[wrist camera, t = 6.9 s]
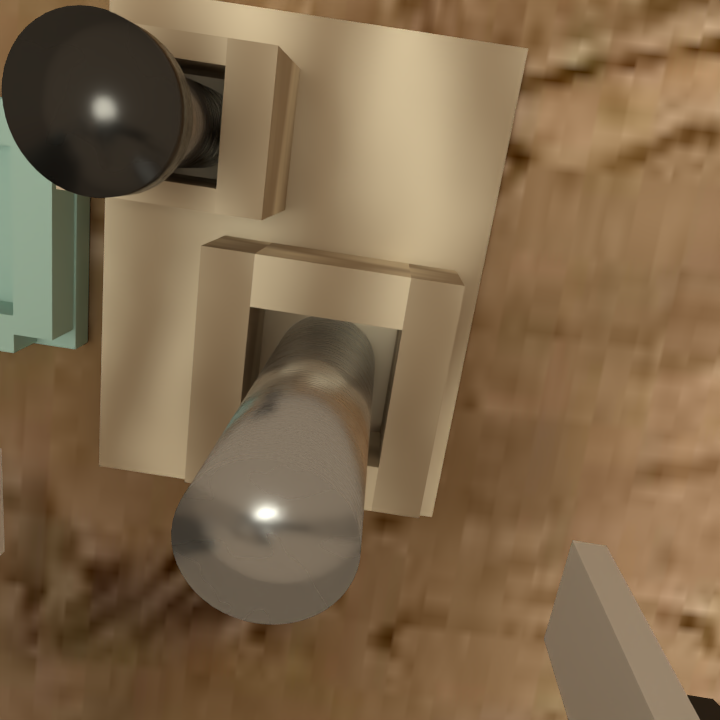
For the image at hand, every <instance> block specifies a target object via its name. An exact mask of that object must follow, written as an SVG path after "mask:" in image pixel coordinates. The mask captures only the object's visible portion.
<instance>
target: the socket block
mask: <svg viewBox="0 0 720 720" xmlns="http://www.w3.org/2000/svg"><path fill="white" fill-rule="evenodd" d="M110 12H113V13H116V14H117V15H119V16H121V17H123V18H125V19H127V20H129V21H130V22H132V23H134V24H136V25H138V26H139V27H141V28H143V29H145V30H146V31H148V32H149V33H151V34H152V35H153V36H155V37H156V38H157V39H158V40H159V41H160V42H161V43H163V44H164V45H165V47H166V48H167V49H168V50H169V51H170V52H171V54H172V55H173V56H174V58H175V59H176V61H177V62H178V64H179V66H180V67H181V69H182V71H183V73H184V75H185V77H186V78H189V79H191V80H193V81H196V82H198V83H200V84H203V85H205V86H207V87H210V88H212V89H214V90H216V91H217V92H219V93H220V94H221V95H222V96H223V106H222V119H221V133H220V146H219V160H218V164H216V165H214V166H211V167H206V168H176V169H175V171H174V172H173V173H172V174H171V175H170V176H169V177H168V178H167V179H166V180H164V181H163V182H162V183H160V184H159V185H157V186H155V187H154V188H152V189H150V190H147V191H145V192H142V193H138V194H133V195H127V196H119V197H109V198H105V228H104V271H103V314H102V357H101V400H100V443H99V466H102V467H109V468H115V469H122V470H128V471H135V472H141V473H148V474H154V475H161V476H167V477H174V478H181V479H185V482H186V483H192V481H193V480H194V478H195V476H196V475H197V473H198V472H199V470H200V468H201V467H202V465H203V464H204V462H205V460H206V459H207V457H208V456H209V454H210V452H211V451H212V449H213V448H214V446H215V444H216V443H217V441H218V440H219V438H220V436H221V435H222V433H223V432H224V430H225V428H226V427H227V425H228V424H229V422H230V420H231V419H232V417H233V416H234V414H235V412H236V411H237V409H238V408H239V406H240V404H241V403H242V401H243V400H244V398H245V396H246V395H247V393H248V392H249V390H250V388H251V387H252V385H253V384H254V382H255V380H256V379H257V377H258V376H259V374H260V372H261V371H262V369H263V368H264V366H265V364H266V363H267V361H268V360H269V358H270V356H271V355H272V353H273V352H274V350H275V348H276V347H277V345H278V344H279V342H280V340H281V339H282V337H283V336H284V334H285V333H286V332H287V331H288V330H289V328H291V327H292V326H293V325H294V324H295V323H297V322H299V321H300V320H302V319H305V318H307V317H310V316H314V317H320V318H327V319H333V320H340V321H346V322H352V323H353V324H354V325H356V326H357V327H358V328H359V329H360V330H361V331H362V332H363V333H364V334H365V335H366V337H367V338H368V340H369V342H370V344H371V346H372V349H373V352H374V357H375V371H374V384H373V397H372V410H371V423H370V436H369V449H368V462H367V476H366V489H365V502H364V510H368V511H375V512H381V513H388V514H394V515H401V516H407V517H414V518H419V516H420V515H421V516H428V517H432V514H433V509H434V504H435V499H436V495H437V490H438V485H439V480H440V475H441V470H442V465H443V461H444V456H445V451H446V446H447V441H448V436H449V431H450V427H451V422H452V417H453V412H454V407H455V402H456V397H457V393H458V388H459V383H460V378H461V373H462V368H463V363H464V358H465V354H466V349H467V344H468V339H469V334H470V329H471V324H472V320H473V315H474V310H475V305H476V300H477V295H478V290H479V286H480V281H481V276H482V271H483V266H484V261H485V256H486V251H487V247H488V242H489V237H490V232H491V227H492V222H493V217H494V213H495V208H496V203H497V198H498V193H499V188H500V183H501V179H502V174H503V169H504V164H505V159H506V154H507V149H508V145H509V140H510V135H511V130H512V125H513V120H514V115H515V110H516V106H517V101H518V96H519V91H520V86H521V81H522V76H523V72H524V67H525V62H526V57H527V52H528V48H522V47H515V46H509V45H502V44H496V43H489V42H483V41H476V40H470V39H463V38H456V37H450V36H443V35H437V34H430V33H424V32H417V31H411V30H404V29H398V28H391V27H385V26H378V25H372V24H365V23H359V22H352V21H345V20H339V19H332V18H326V17H319V16H313V15H306V14H300V13H293V12H287V11H280V10H274V9H267V8H261V7H254V6H247V5H241V4H234V3H228V2H221V1H215V0H110ZM56 189H60V190H64V189H63V188H61V187H59V186H57V185H56Z"/></svg>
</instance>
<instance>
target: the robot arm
mask: <svg viewBox="0 0 720 720" xmlns="http://www.w3.org/2000/svg"><path fill="white" fill-rule="evenodd" d="M4 551H5V548H4V517H3V486H2V454H1V448H0V555H1V554H2V553H3V552H4ZM544 641H545V644H546V647H547V651H548V654H549V657H550V661H551V664H552V667H553V671H554V674H555V677H556V680H557V684H558V687H559V690H560V694H561V697H562V700H563V704H564V707H565V710H566V714H567V717H568V720H720V706H719V705H718V704H717V703H716V702H715V701H714V700H713V699H709V698H703V697H697V696H690V695H686V693H685V691H684V689H683V687H682V685H681V683H680V682H679V680H678V678H677V676H676V674H675V672H674V670H673V669H672V667H671V665H670V663H669V661H668V659H667V657H666V656H665V654H664V652H663V650H662V648H661V646H660V644H659V643H658V641H657V639H656V637H655V635H654V633H653V631H652V630H651V628H650V626H649V624H648V622H647V620H646V618H645V617H644V615H643V613H642V611H641V609H640V607H639V605H638V604H637V602H636V600H635V598H634V596H633V594H632V592H631V591H630V589H629V587H628V585H627V583H626V581H625V580H624V578H623V576H622V574H621V572H620V570H619V568H618V567H617V565H616V563H615V561H614V559H613V557H612V555H611V554H610V552H609V550H608V548H607V546H605V545H599V544H593V543H586V542H580V541H574V540H572V544H571V547H570V551H569V554H568V558H567V561H566V565H565V568H564V571H563V575H562V578H561V582H560V585H559V589H558V592H557V596H556V599H555V603H554V606H553V610H552V613H551V617H550V620H549V623H548V627H547V630H546V634H545V637H544Z"/></svg>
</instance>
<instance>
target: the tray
mask: <svg viewBox="0 0 720 720" xmlns="http://www.w3.org/2000/svg"><path fill="white" fill-rule="evenodd" d="M89 236H90V197H86V196H82V195H77V194H75V193H72V192H69V191H66V190H60V189H56V185H55V184H54V183H52V182H51V181H49V180H48V179H46V178H45V177H44V176H43V175H41V174H40V173H39V172H38V171H37V170H36V169H35V168H34V167H33V166H32V165H31V164H30V163H29V162H28V160H27V159H26V158H25V156H24V155H23V154H22V152H21V151H20V149H19V148H18V146H17V144H16V143H15V141H14V139H13V136H12V134H11V132H10V130H9V127H8V124H7V121H6V118H5V113H4V108H3V101H2V97H0V351H4V352H11V353H15V352H17V351H19V350H21V349H23V348H25V347H27V346H29V345H31V344H33V343H37V344H44V345H50V346H57V347H63V348H70V349H77V348H79V347H80V346H82V345H84V344H85V343H87V342H88V298H89Z"/></svg>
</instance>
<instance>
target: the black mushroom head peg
mask: <svg viewBox="0 0 720 720" xmlns="http://www.w3.org/2000/svg"><path fill="white" fill-rule="evenodd" d="M2 101H3V108H4V113H5V118H6V121H7V124H8V127H9V130H10V132H11V134H12V136H13V139H14V141H15V143H16V144H17V146H18V148H19V149H20V151H21V152H22V154H23V155H24V156H25V158H26V159H27V160H28V162H29V163H30V164H31V165H32V166H33V167H34V168H35V169H36V170H37V171H38V172H39V173H40V174H41V175H43V176H44V177H45V178H46V179H48V180H49V181H51V182H52V183H54V184H55V185H57V186H59V187H61V188H63V189H64V190H66V191H69V192H72V193H75V194H77V195H82V196H86V197H94V198H109V197H119V196H127V195H133V194H138V193H142V192H145V191H147V190H150V189H152V188H154V187H155V186H157V185H159V184H160V183H162V182H163V181H164V180H166V179H167V178H168V177H169V176H170V175H171V174H172V173H173V172H174V171H175V169H176V168H206V167H211V166H214V165H216V164H218V160H219V146H220V133H221V119H222V106H223V96H222V95H221V94H220V93H219V92H217V91H216V90H214V89H212V88H210V87H207V86H205V85H203V84H200V83H198V82H196V81H193V80H191V79H189V78H186V77H185V75H184V73H183V71H182V69H181V67H180V66H179V64H178V62H177V61H176V59H175V58H174V56H173V55H172V54H171V52H170V51H169V50H168V49H167V48H166V47H165V45H164V44H163V43H161V42H160V41H159V40H158V39H157V38H156V37H155V36H153V35H152V34H151V33H149V32H148V31H146V30H145V29H143V28H141V27H139V26H138V25H136V24H134V23H132V22H130V21H129V20H127V19H125V18H123V17H121V16H119V15H117V14H116V13H113V12H110V11H108V10H105V9H101V8H97V7H93V6H82V5H77V6H66V7H62V8H58V9H55V10H52V11H50V12H47V13H45V14H43V15H42V16H40V17H38V18H37V19H35V20H34V21H33V22H32V23H30V24H29V25H28V26H27V27H26V28H25V29H24V30H23V31H22V32H21V34H20V35H19V36H18V38H17V39H16V41H15V42H14V44H13V46H12V48H11V50H10V52H9V54H8V57H7V60H6V63H5V67H4V72H3V78H2Z"/></svg>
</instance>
